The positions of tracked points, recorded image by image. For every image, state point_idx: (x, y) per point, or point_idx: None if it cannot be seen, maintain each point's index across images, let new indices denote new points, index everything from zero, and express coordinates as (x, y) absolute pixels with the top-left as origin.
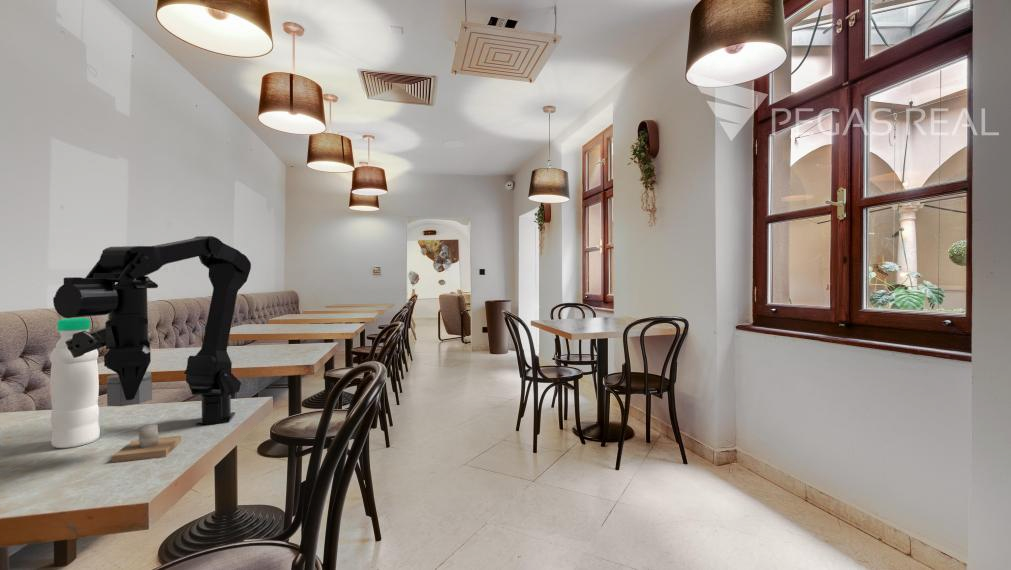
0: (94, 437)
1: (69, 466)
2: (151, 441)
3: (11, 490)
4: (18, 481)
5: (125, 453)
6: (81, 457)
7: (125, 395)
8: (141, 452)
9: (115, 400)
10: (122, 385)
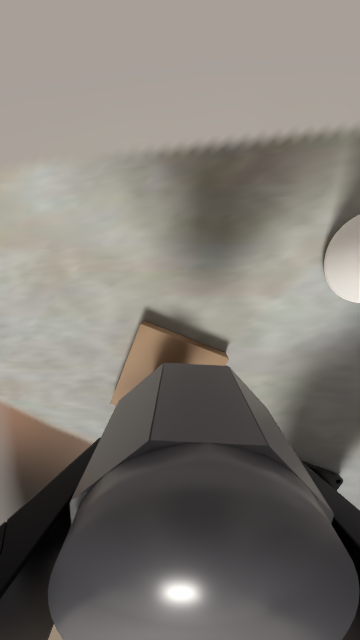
0: (338, 293)
1: (177, 252)
2: None
3: (90, 163)
4: (143, 169)
5: (140, 344)
6: (227, 270)
7: (81, 454)
8: (124, 368)
9: (128, 402)
10: (20, 510)
